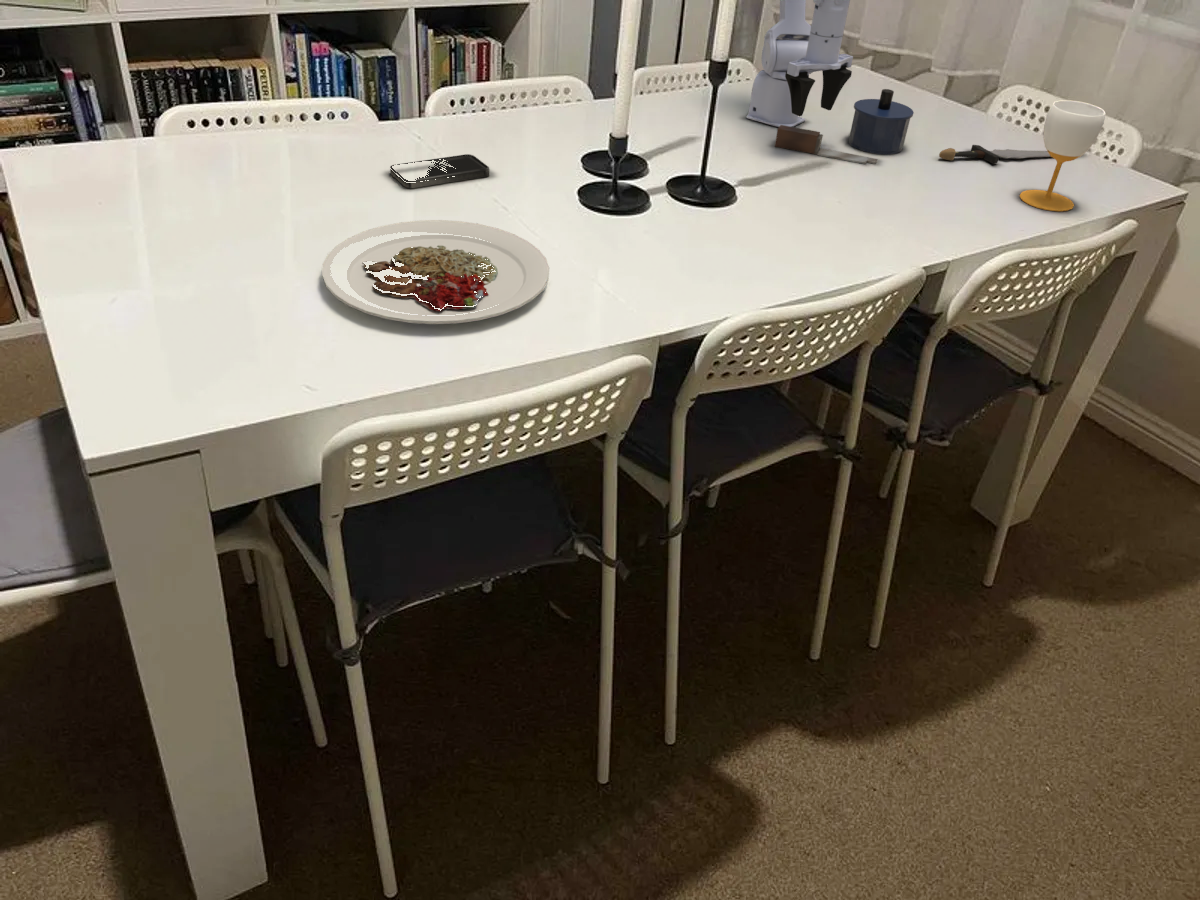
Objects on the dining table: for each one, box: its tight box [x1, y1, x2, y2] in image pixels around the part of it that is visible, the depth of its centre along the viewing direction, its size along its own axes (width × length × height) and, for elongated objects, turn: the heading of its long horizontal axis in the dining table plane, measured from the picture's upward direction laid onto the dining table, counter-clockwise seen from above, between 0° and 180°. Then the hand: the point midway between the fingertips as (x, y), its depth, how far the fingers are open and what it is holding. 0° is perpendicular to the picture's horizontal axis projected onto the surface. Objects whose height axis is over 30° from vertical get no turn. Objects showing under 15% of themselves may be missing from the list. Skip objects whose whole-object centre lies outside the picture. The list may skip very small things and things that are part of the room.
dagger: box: [938, 144, 1052, 165], centre depth 188 cm, size 8×32×2 cm, turn 98°
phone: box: [389, 153, 490, 189], centre depth 163 cm, size 8×1×15 cm
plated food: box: [321, 219, 550, 325], centre depth 132 cm, size 30×30×3 cm
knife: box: [774, 125, 878, 165], centre depth 182 cm, size 19×3×3 cm, turn 69°
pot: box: [848, 109, 911, 155], centre depth 188 cm, size 10×10×6 cm
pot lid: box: [853, 88, 915, 120], centre depth 185 cm, size 11×11×4 cm
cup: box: [1019, 99, 1107, 212], centre depth 167 cm, size 9×9×16 cm
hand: (811, 111), depth 180 cm, fingers open, 7 cm apart
